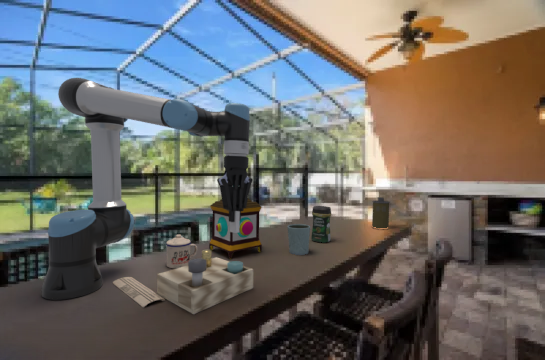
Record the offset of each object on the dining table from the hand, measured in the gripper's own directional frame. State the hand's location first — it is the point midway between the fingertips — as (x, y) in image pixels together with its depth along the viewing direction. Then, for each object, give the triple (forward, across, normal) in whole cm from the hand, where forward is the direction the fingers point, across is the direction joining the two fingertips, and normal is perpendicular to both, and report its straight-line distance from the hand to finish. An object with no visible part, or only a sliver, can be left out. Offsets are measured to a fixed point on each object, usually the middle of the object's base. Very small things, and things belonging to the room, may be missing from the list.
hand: (234, 231), depth 90 cm
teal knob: (+16, 0, -1) cm, 16 cm away
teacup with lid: (+18, +2, +31) cm, 36 cm away
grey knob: (+12, -14, -1) cm, 18 cm away
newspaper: (+19, -21, +20) cm, 35 cm away
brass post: (+12, -4, +8) cm, 15 cm away
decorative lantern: (+18, +28, +29) cm, 45 cm away
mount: (+18, -7, +4) cm, 20 cm away
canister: (+17, +128, -1) cm, 129 cm away
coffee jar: (+18, +71, +10) cm, 74 cm away
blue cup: (+18, +46, +7) cm, 50 cm away
